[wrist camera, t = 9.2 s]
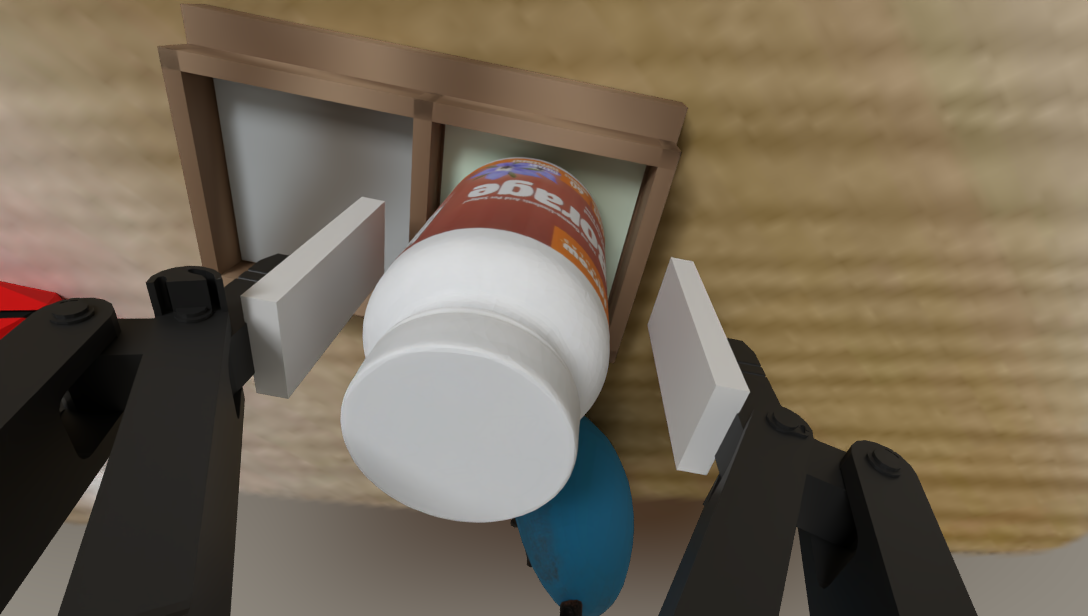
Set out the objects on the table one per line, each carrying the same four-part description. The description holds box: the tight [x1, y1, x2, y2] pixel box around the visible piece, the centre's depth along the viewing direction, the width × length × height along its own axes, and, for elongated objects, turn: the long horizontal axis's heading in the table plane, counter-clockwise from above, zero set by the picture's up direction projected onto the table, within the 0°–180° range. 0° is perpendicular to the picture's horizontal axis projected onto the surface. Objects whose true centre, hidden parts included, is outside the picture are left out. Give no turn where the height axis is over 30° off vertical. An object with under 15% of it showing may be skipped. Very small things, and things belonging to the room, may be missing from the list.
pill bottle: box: [341, 157, 610, 523], centre depth 14 cm, size 6×6×11 cm
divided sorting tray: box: [157, 4, 688, 363], centre depth 19 cm, size 17×11×3 cm, turn 80°
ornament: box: [511, 416, 634, 616], centre depth 22 cm, size 8×5×10 cm, turn 33°
